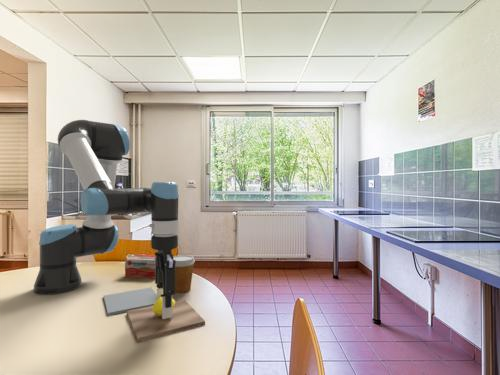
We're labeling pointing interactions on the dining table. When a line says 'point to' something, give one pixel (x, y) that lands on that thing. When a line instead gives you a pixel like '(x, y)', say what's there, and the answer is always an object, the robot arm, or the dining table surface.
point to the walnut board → (163, 321)
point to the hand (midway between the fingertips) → (164, 313)
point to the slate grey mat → (129, 300)
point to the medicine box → (140, 266)
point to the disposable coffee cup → (183, 272)
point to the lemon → (160, 306)
